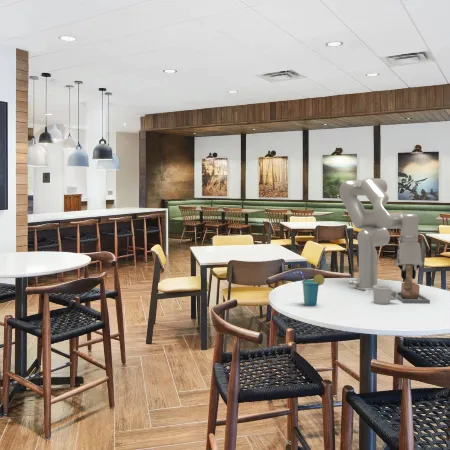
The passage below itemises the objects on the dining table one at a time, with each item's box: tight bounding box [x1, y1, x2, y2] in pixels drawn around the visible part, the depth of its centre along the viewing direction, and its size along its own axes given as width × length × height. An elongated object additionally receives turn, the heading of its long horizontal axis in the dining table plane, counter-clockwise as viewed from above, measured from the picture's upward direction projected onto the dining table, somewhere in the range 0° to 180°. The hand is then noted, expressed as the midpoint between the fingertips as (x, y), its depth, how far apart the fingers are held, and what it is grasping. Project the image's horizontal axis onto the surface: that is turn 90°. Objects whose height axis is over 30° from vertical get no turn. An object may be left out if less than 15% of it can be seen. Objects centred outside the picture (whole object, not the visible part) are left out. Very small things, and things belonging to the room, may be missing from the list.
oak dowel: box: [403, 264, 414, 290], centre depth 220 cm, size 4×4×12 cm
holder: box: [401, 281, 420, 294], centre depth 230 cm, size 6×6×6 cm
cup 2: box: [372, 284, 399, 305], centre depth 210 cm, size 11×8×8 cm
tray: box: [391, 291, 431, 305], centre depth 218 cm, size 12×16×2 cm
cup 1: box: [292, 270, 325, 307], centre depth 209 cm, size 14×8×15 cm, turn 78°
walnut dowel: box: [400, 293, 419, 300], centre depth 218 cm, size 7×3×3 cm, turn 89°
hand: (408, 278), depth 220 cm, fingers closed on oak dowel, 3 cm apart
